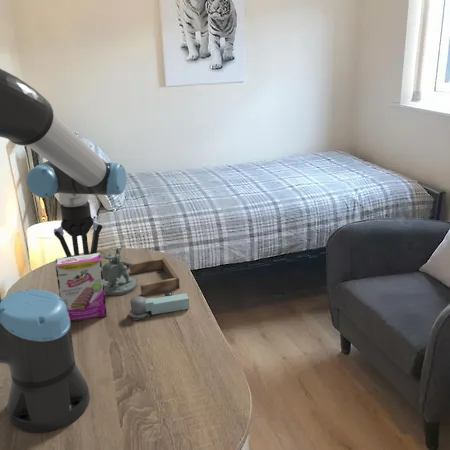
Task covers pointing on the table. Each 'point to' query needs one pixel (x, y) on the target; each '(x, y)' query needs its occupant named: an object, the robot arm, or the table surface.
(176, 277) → the seat frame
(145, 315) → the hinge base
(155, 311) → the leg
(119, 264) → the figurine
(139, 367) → the table surface
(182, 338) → the table surface
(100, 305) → the candy bar box
